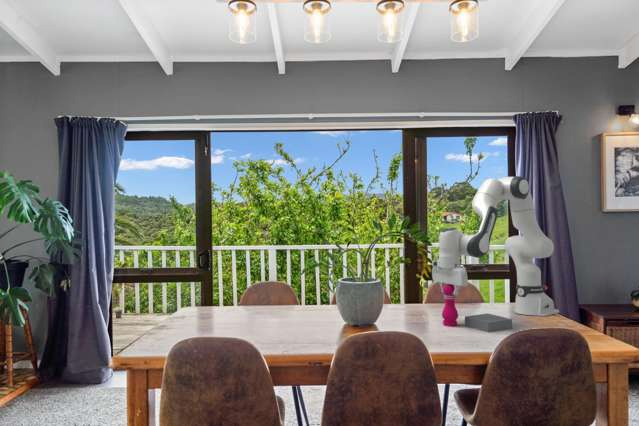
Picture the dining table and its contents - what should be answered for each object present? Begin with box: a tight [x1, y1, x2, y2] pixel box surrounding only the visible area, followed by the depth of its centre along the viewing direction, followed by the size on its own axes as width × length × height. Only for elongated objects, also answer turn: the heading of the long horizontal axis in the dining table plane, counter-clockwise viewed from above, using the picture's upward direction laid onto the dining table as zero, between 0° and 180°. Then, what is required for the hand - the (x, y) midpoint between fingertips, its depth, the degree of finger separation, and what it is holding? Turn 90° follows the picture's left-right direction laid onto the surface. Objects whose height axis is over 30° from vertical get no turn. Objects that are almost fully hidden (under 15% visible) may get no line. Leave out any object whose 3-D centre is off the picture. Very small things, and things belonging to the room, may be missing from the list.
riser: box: [464, 313, 513, 333], centre depth 210 cm, size 14×14×4 cm
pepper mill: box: [441, 284, 459, 327], centre depth 215 cm, size 7×7×20 cm
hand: (449, 293), depth 215 cm, fingers closed on pepper mill, 6 cm apart
